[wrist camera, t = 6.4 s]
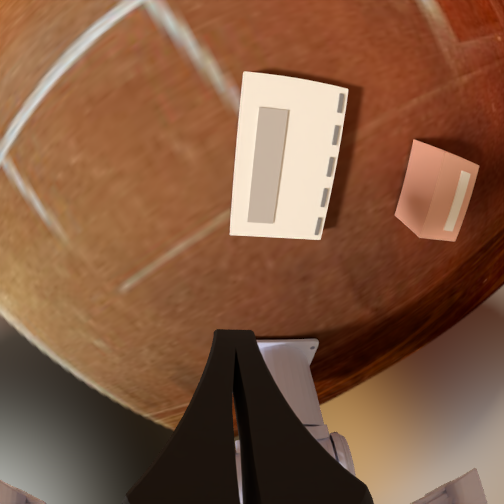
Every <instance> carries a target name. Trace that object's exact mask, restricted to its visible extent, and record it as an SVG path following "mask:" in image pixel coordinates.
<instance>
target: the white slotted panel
mask: <svg viewBox="0 0 504 504" xmlns="http://www.w3.org/2000/svg"><path fill="white" fill-rule="evenodd" d="M347 97H348V89H346V88H342V87H338V86H334V85H330V84H325V83H320V82H315V81H310V80H305V79H299V78H293V77H287V76H280V75H273V74H264V73H255V72H244V73H243V80H242V90H241V100H240V110H239V121H238V132H237V143H236V155H235V167H234V179H233V192H232V206H231V220H230V235H239V236H259V237H278V238H296V239H313V240H321V235H322V231H323V227H324V222H325V218H326V213H327V209H328V204H329V199H330V195H331V190H332V185H333V180H334V175H335V170H336V164H337V159H338V153H339V148H340V142H341V136H342V130H343V124H344V117H345V111H346V104H347Z"/></svg>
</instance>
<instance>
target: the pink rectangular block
mask: <svg viewBox="0 0 504 504" xmlns="http://www.w3.org/2000/svg"><path fill="white" fill-rule="evenodd" d="M478 169H479V165H477V164H475V163H472V162H470V161H468V160H466V159H464V158H461V157H459V156H457V155H454V154H452V153H450V152H447V151H445V150H442V149H439V148H437V147H434V146H431V145H429V144H426V143H423V142H420V141H417V140H413V145H412V150H411V154H410V159H409V163H408V168H407V172H406V176H405V180H404V184H403V188H402V191H401V195H400V199H399V202H398V206H397V209H396V212H395V216H396V217H397V218H398V219H399V220H401V221H402V222H403V223H404V224H405V225H406V226H407V227H408V228H409V229H411V230H412V231H413V232H414V233H415V234H416V235H417V236H418V237H419V238H428V239H437V240H446V241H455V240H456V238H457V235H458V233H459V230H460V227H461V225H462V222H463V219H464V216H465V213H466V210H467V207H468V204H469V201H470V198H471V195H472V191H473V188H474V184H475V181H476V177H477V173H478Z"/></svg>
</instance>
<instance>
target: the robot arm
mask: <svg viewBox="0 0 504 504" xmlns="http://www.w3.org/2000/svg"><path fill="white" fill-rule="evenodd" d="M318 345H319V341H318V339H287V340H256V338H255V335H254V332H253V331H252V330H223V329H217V330H215V331H214V337H213V342H212V347H211V351H210V354H209V357H208V360H207V363H206V366H205V369H204V371H203V374H202V377H201V379H200V382H199V384H198V386H197V388H196V391H195V393H194V395H193V397H192V399H191V402H190V404H189V405H188V407H187V409H186V411H185V413H184V415H183V417H182V419H181V420H180V422H179V424H178V426H177V427H176V429H175V430H174V432H173V434H172V435H171V437H170V439H169V440H168V442H167V443H166V445H165V446H164V448H163V449H162V451H161V452H160V453H159V454H158V456H157V457H156V459H155V460H154V461H153V463H152V464H151V465H150V467H149V468H148V469H147V470H146V472H145V473H144V474H143V475H142V476H141V478H140V479H139V480H138V481H137V482H136V483H135V484H134V486H132V488H131V489H130V490H129V491H128V492H127V493H126V496H125V498H124V500H123V502H122V504H374V503H373V499H372V497H371V494H370V492H369V490H368V487H367V486H366V485H365V484H364V483H363V482H362V481H360V480H359V479H358V478H356V477H355V470H354V464H353V460H352V456H351V452H350V449H349V446H348V443H347V441H346V439H345V437H344V436H342V435H340V434H338V433H337V432H333V433H330V436H329V432H328V428H327V425H324V422H323V418H322V414H321V410H320V406H319V402H318V398H317V394H316V390H315V386H314V382H313V379H312V375H311V371H310V367H309V366H310V364H311V362H312V359H313V357H314V354H315V352H316V350H317V347H318ZM232 393H233V397H234V405H235V412H236V419H237V426H238V433H239V440H237V441H236V450H235V444H234V431H233V415H232ZM0 504H46V503H45V502H44V501H42V500H40V499H38V498H36V497H34V496H32V495H30V494H28V493H27V492H25V491H22V490H20V489H18V488H15V487H13V486H11V485H9V484H7V483H5V482H3V481H2V480H0ZM410 504H487V501H486V497H485V494H484V490H483V487H482V484H481V481H480V478H479V475H478V472H477V469H476V468H474V469H472V470H471V471H469V472H467V473H466V474H464V475H462V476H460V477H459V478H457V479H455V480H453V481H450V482H448V483H446V484H444V485H442V486H440V487H438V488H436V489H435V490H433V491H431V492H429V493H427V494H426V495H425V496H424V497H423V498H421V499H419V500H416V501H414V502H413V503H410Z"/></svg>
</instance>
